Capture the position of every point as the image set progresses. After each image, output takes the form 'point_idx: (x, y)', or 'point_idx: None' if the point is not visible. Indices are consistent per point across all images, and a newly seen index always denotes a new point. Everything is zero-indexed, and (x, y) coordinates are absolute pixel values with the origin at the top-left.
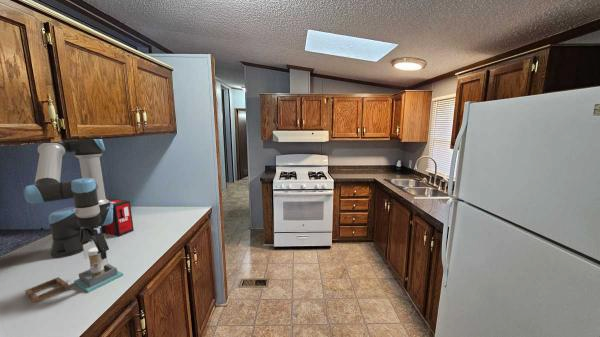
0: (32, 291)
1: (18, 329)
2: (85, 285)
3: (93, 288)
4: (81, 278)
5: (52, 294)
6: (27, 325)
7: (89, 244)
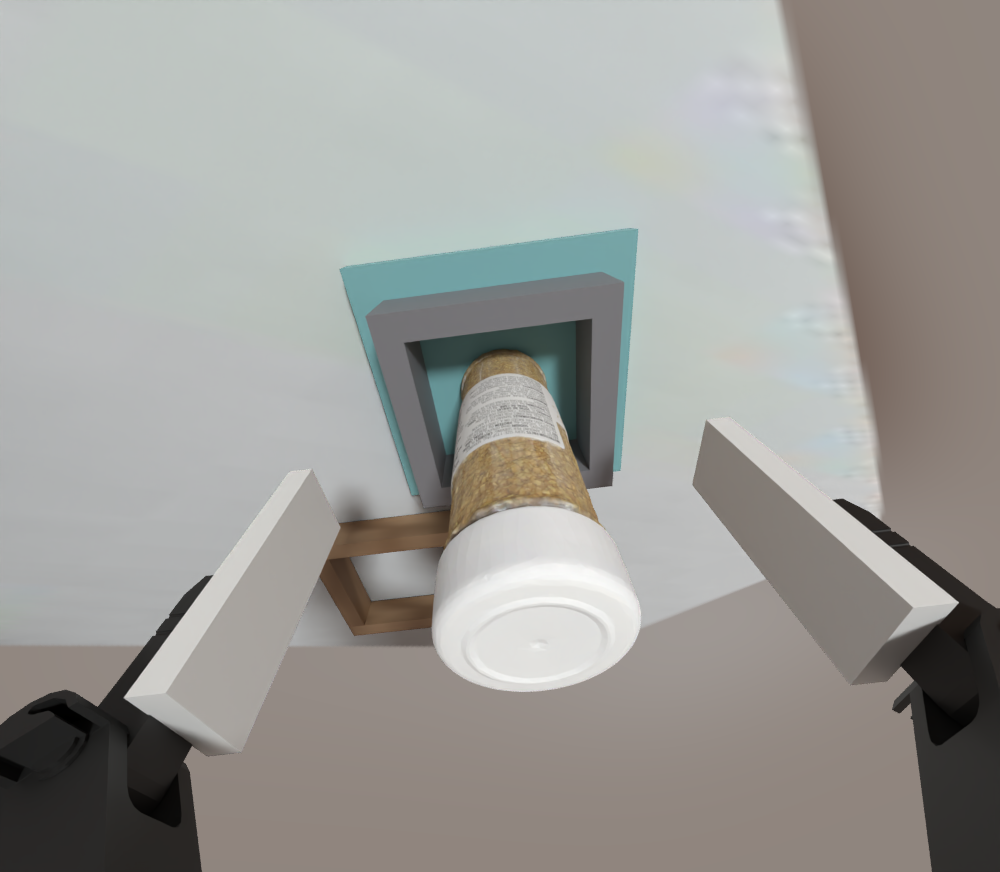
0: (366, 609)
1: None
2: None
3: (620, 443)
4: None
5: None
6: None
7: (207, 669)
